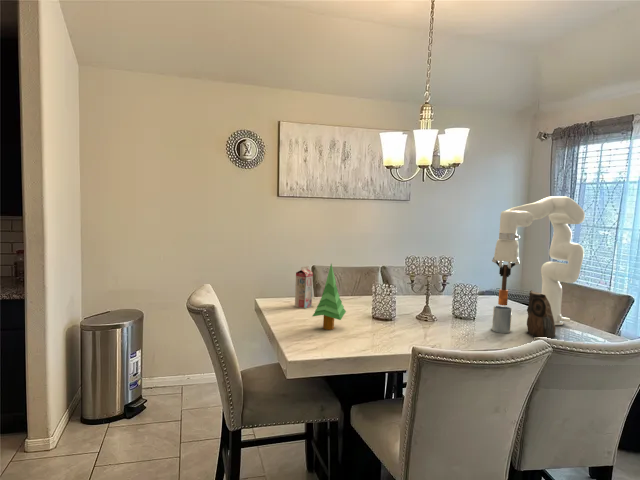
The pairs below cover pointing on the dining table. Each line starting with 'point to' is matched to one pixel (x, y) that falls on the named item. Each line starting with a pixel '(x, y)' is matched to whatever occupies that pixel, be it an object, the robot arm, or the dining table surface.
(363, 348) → the dining table surface
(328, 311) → the decorative tree
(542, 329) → the owl
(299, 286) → the juice carton
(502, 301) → the orange and brown rod
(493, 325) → the grey cup
